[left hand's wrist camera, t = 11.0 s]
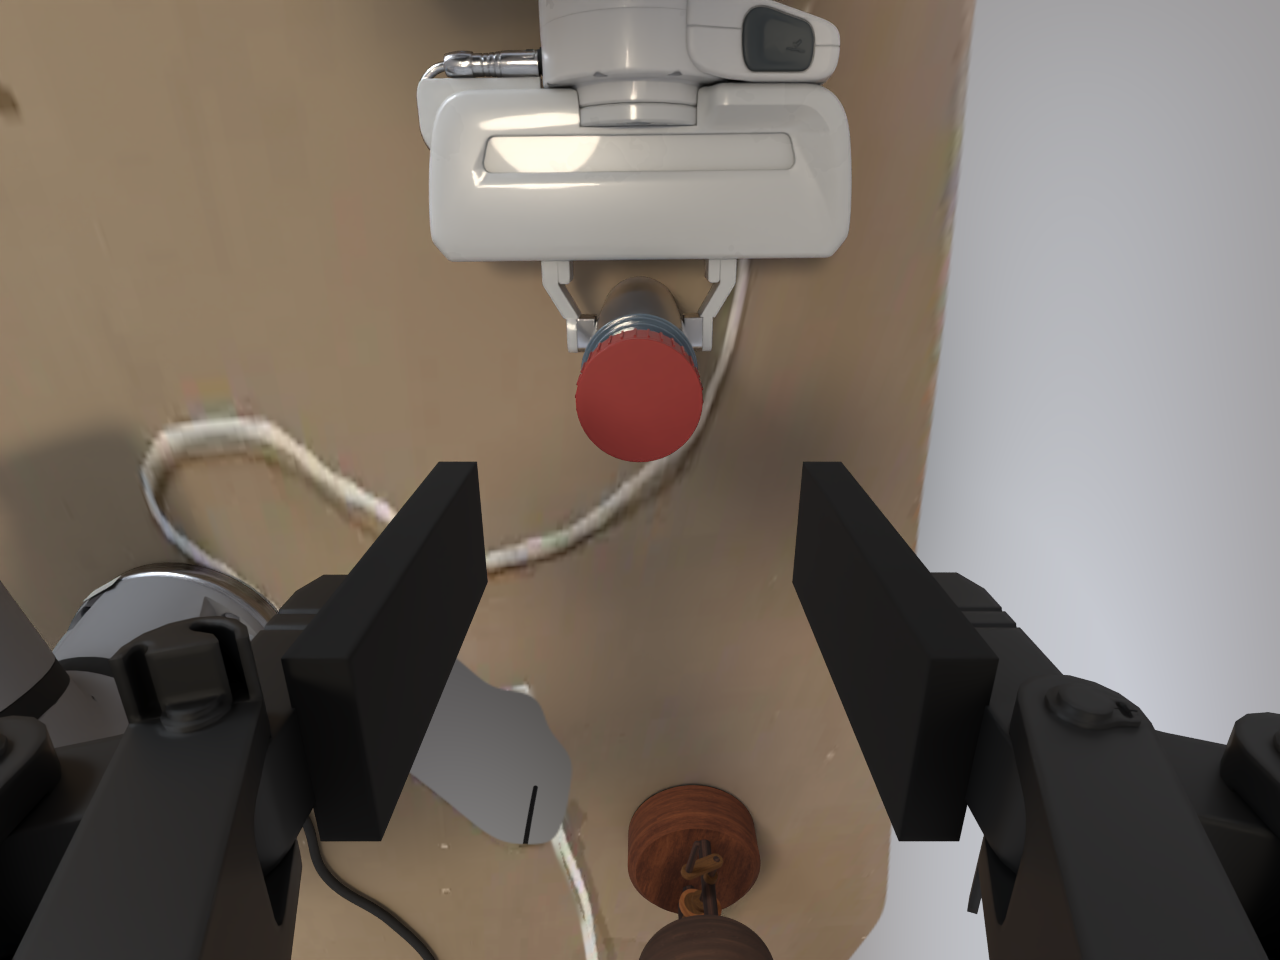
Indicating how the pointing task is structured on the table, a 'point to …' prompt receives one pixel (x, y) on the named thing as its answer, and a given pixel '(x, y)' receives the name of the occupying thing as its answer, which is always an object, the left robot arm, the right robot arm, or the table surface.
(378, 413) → the table surface
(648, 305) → the bottle
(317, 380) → the table surface
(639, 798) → the table surface
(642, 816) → the music box
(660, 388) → the cap
